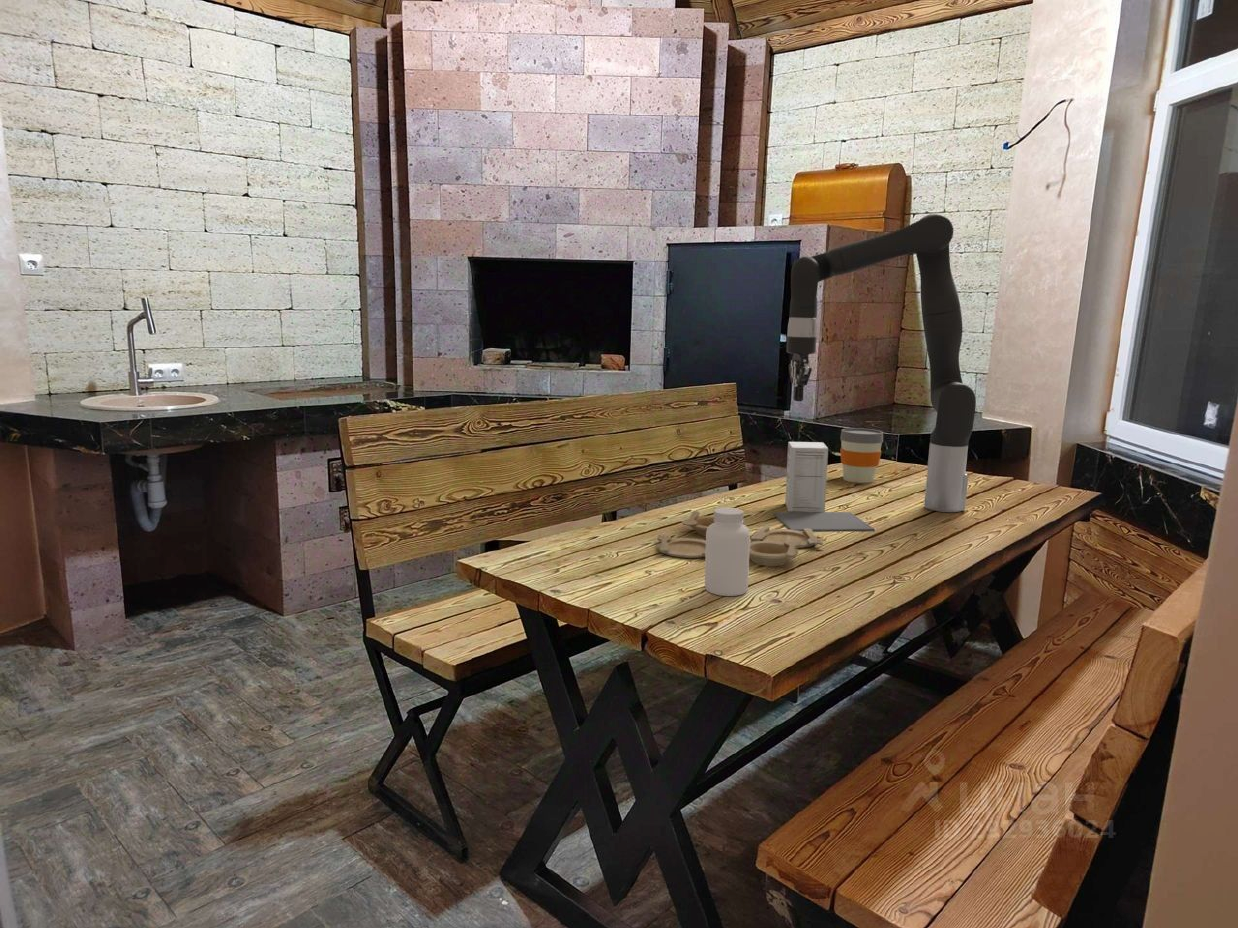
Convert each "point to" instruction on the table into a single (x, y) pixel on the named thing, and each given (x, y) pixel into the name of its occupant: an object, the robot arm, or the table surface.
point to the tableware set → (764, 549)
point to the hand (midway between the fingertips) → (797, 400)
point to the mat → (822, 521)
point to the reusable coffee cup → (860, 453)
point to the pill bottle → (727, 553)
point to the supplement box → (806, 476)
